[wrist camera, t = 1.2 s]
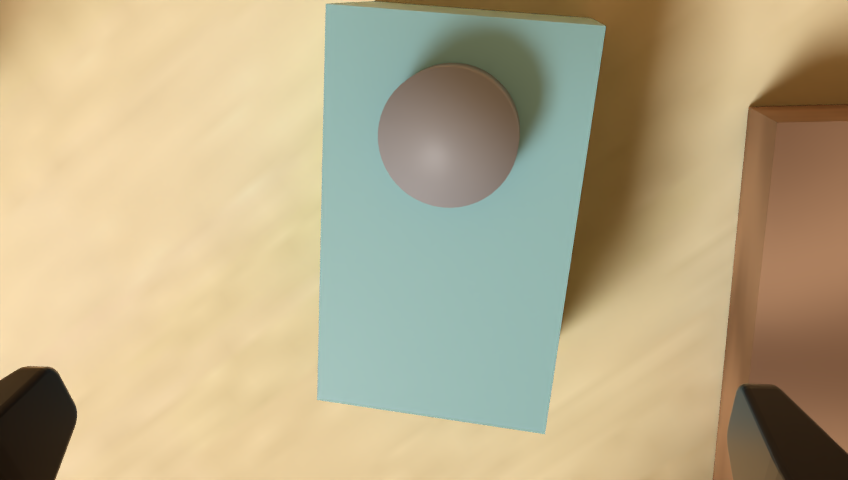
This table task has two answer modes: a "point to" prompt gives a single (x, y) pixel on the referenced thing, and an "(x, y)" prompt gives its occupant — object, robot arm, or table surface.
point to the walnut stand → (791, 268)
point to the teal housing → (450, 206)
